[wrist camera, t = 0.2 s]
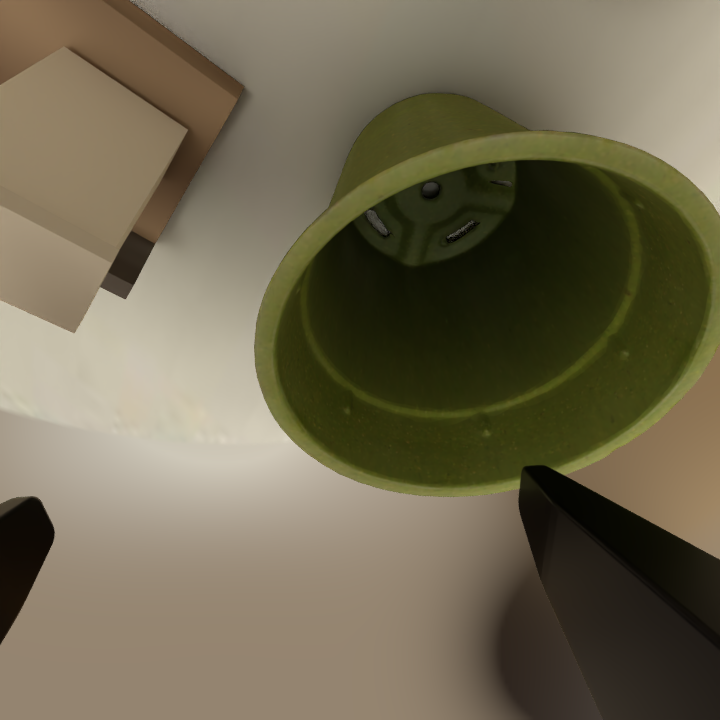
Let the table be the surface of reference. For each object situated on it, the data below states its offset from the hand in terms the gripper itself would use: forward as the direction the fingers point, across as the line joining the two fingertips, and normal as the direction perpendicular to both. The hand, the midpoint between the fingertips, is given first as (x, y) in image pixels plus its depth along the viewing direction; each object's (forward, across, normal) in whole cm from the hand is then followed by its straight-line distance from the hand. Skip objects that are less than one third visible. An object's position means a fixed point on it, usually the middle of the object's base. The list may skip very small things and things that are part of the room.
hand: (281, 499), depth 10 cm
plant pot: (+15, +5, +3) cm, 16 cm away
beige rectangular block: (+12, -6, +6) cm, 15 cm away
